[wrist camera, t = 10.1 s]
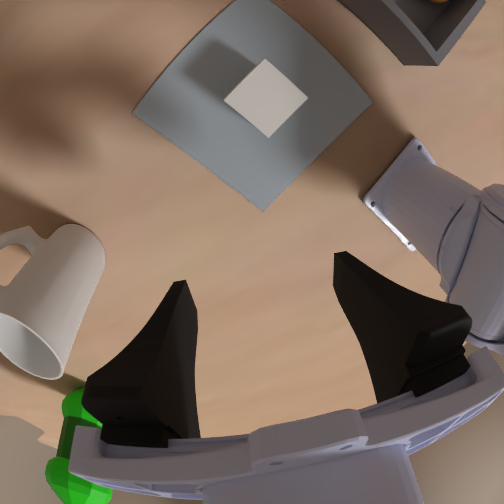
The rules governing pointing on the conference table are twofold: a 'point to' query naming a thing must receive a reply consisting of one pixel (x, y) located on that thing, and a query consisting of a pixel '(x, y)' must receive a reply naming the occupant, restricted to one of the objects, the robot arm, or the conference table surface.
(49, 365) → the mug
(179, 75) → the bin lid
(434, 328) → the robot arm
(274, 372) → the conference table surface
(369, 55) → the conference table surface
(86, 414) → the plastic bottle
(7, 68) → the conference table surface
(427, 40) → the bin
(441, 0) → the orange ball
